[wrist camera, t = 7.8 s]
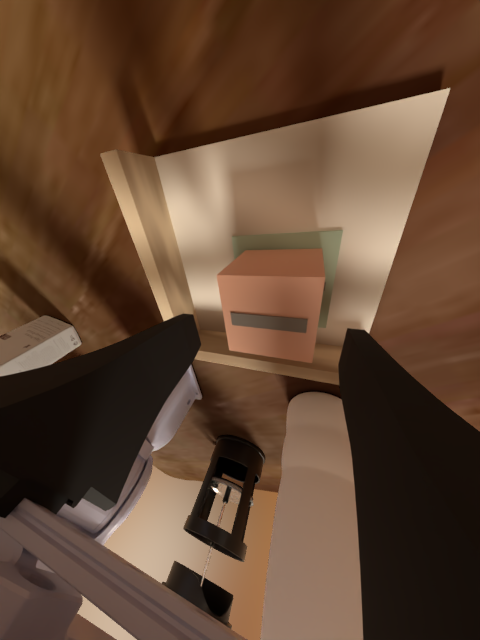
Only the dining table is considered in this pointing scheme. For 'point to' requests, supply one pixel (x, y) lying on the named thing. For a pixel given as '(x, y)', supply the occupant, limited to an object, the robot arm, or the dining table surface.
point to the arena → (280, 217)
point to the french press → (240, 465)
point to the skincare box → (36, 345)
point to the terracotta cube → (273, 302)
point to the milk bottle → (314, 530)
